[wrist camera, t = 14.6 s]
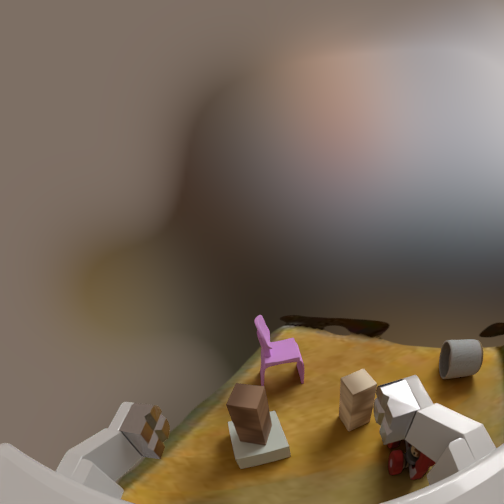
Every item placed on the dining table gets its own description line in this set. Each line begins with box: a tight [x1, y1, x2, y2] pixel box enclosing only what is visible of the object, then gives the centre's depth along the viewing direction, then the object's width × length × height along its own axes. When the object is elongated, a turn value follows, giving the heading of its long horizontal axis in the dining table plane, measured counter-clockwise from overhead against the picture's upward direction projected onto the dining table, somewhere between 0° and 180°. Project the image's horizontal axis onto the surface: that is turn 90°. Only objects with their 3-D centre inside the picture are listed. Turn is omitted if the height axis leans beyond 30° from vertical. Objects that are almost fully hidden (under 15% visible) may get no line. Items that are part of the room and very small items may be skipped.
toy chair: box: [254, 315, 304, 386], centre depth 49 cm, size 8×9×15 cm
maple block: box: [339, 369, 377, 431], centre depth 35 cm, size 4×4×10 cm
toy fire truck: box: [387, 439, 436, 480], centre depth 25 cm, size 7×12×10 cm, turn 166°
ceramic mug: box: [439, 339, 483, 379], centre depth 37 cm, size 11×8×8 cm
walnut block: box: [226, 383, 272, 445], centre depth 33 cm, size 4×4×10 cm
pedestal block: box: [228, 411, 291, 469], centre depth 35 cm, size 8×8×4 cm
